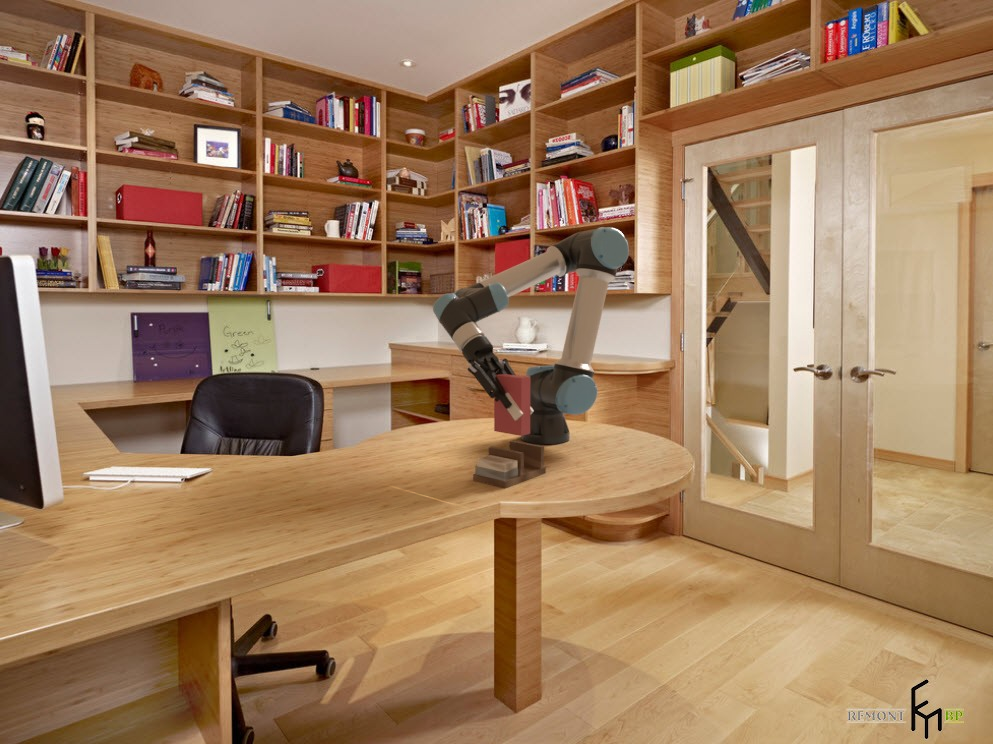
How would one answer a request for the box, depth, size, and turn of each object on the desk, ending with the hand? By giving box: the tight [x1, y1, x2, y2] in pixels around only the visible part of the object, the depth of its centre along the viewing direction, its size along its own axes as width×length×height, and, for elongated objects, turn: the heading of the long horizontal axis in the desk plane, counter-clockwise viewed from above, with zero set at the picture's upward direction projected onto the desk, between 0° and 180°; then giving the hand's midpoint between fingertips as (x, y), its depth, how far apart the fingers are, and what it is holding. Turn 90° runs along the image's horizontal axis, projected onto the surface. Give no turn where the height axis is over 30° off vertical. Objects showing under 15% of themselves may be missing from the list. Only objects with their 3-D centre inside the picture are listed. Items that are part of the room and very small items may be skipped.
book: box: [493, 374, 530, 437], centre depth 152 cm, size 4×9×14 cm, turn 50°
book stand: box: [472, 440, 547, 489], centre depth 152 cm, size 16×10×7 cm, turn 140°
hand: (524, 415), depth 149 cm, fingers closed on book, 3 cm apart
